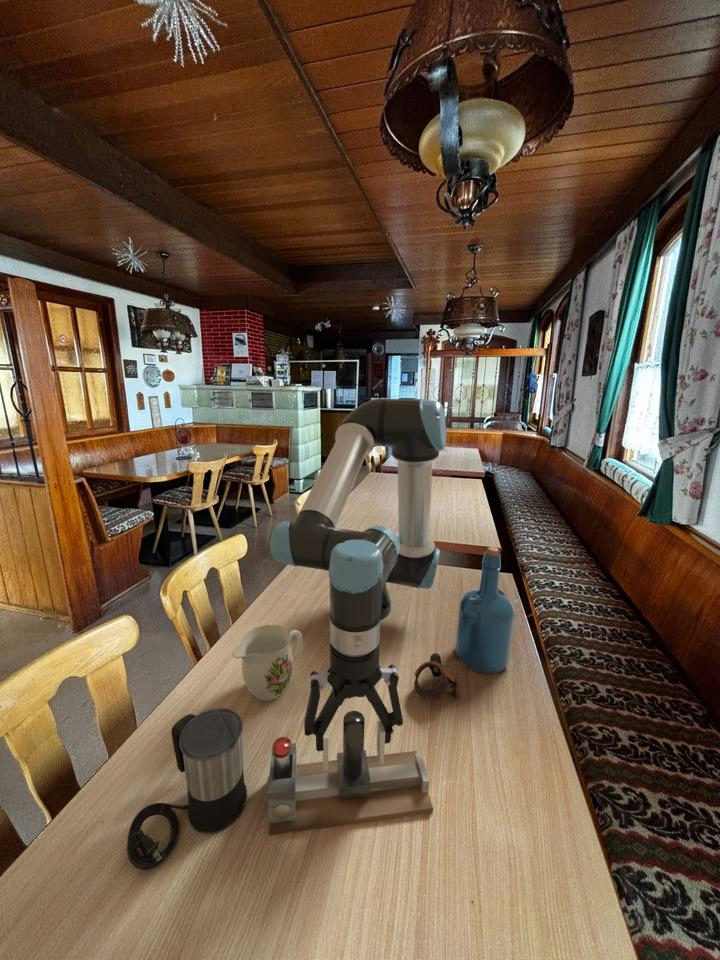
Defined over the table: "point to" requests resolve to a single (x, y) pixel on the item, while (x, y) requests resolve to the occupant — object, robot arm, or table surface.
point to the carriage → (353, 759)
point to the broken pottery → (437, 671)
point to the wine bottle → (486, 621)
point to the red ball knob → (282, 755)
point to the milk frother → (198, 782)
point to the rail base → (315, 800)
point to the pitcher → (268, 660)
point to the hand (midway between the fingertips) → (353, 759)
